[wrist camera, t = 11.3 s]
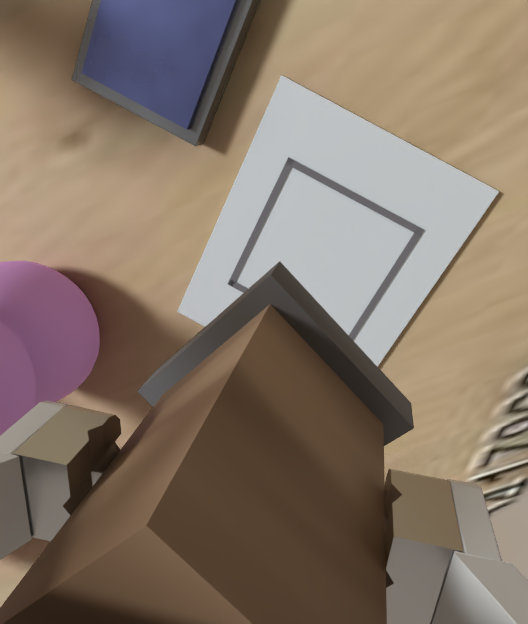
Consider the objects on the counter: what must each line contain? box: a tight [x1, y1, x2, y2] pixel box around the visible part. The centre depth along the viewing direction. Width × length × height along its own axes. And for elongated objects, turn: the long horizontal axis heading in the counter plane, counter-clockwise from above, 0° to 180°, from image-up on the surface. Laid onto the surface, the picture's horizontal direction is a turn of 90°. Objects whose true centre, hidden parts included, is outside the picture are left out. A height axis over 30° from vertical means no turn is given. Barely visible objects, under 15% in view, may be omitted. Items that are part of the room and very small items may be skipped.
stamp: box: [0, 261, 414, 624], centre depth 9 cm, size 4×4×7 cm
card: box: [177, 75, 499, 366], centre depth 23 cm, size 12×10×1 cm
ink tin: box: [72, 0, 260, 146], centre depth 20 cm, size 8×6×1 cm
